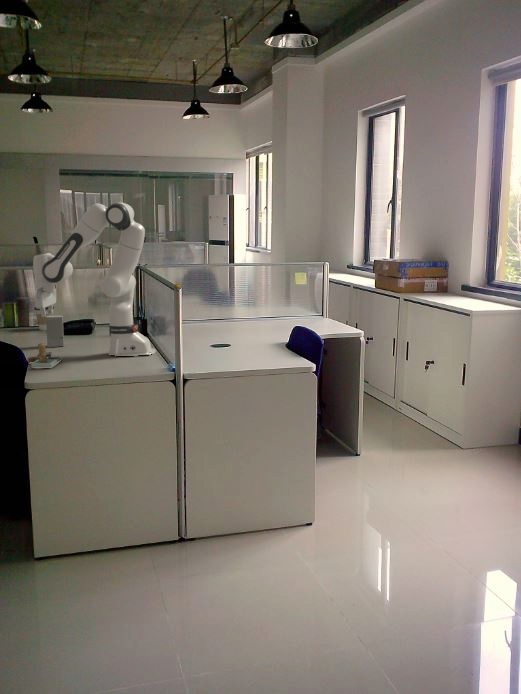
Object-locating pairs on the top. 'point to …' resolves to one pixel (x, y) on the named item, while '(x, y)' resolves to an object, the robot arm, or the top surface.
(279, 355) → the top surface
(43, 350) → the dowel
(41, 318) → the coffee cup
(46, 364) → the tray
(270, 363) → the top surface
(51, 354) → the steel block
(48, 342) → the skincare box
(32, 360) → the block
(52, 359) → the socket
